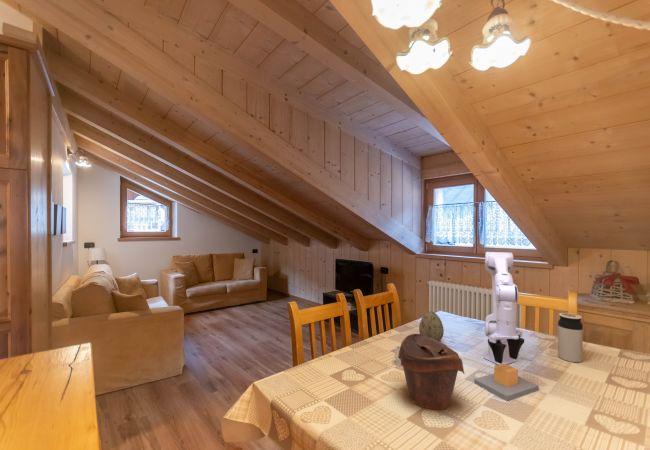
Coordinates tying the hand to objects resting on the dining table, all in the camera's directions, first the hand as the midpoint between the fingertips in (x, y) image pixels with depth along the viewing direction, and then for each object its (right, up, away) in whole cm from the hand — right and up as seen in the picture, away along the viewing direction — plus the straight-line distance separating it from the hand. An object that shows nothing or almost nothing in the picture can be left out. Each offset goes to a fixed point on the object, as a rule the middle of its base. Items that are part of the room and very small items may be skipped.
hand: (505, 360), depth 106 cm
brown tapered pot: (-28, -9, -8) cm, 31 cm away
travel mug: (+40, -10, +23) cm, 47 cm away
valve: (-28, -9, +18) cm, 35 cm away
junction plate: (0, -9, 0) cm, 9 cm away
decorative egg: (-12, -9, +38) cm, 41 cm away
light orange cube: (0, -7, 0) cm, 7 cm away
